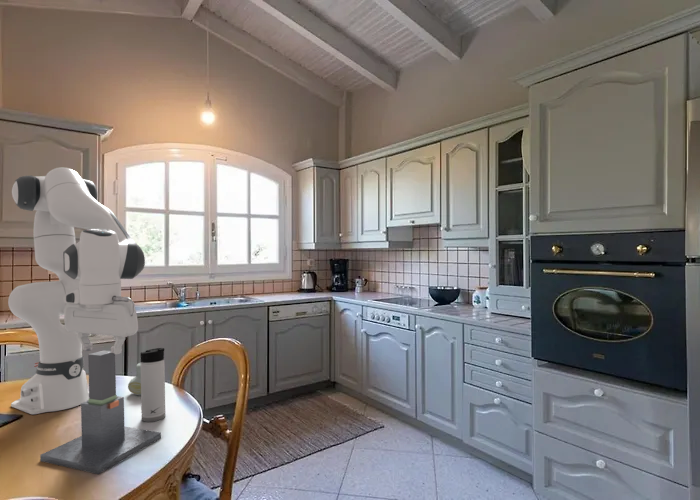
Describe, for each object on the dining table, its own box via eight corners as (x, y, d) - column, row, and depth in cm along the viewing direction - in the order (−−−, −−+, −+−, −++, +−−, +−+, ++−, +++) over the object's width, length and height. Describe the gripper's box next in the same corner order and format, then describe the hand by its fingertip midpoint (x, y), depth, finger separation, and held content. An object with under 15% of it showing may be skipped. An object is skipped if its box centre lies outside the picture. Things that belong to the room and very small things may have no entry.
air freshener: (123, 395, 142) (123, 365, 142) (143, 387, 150) (143, 359, 150) (149, 398, 138) (148, 368, 138) (168, 390, 146) (167, 361, 146)
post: (89, 420, 102) (87, 354, 102) (104, 414, 106) (102, 350, 106) (102, 422, 101) (100, 355, 101) (117, 416, 105) (115, 351, 105)
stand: (40, 461, 98) (39, 409, 98) (108, 429, 115) (107, 385, 115) (98, 474, 92) (97, 418, 92) (161, 438, 109) (160, 391, 109)
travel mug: (157, 422, 119) (155, 351, 119) (136, 421, 120) (135, 350, 120) (171, 414, 125) (169, 346, 125) (151, 412, 126) (149, 345, 126)
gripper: (144, 295, 103) (145, 352, 103) (82, 292, 110) (83, 346, 110) (122, 298, 97) (123, 359, 97) (58, 295, 104) (59, 351, 104)
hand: (101, 352), depth 104 cm, fingers open, 8 cm apart
